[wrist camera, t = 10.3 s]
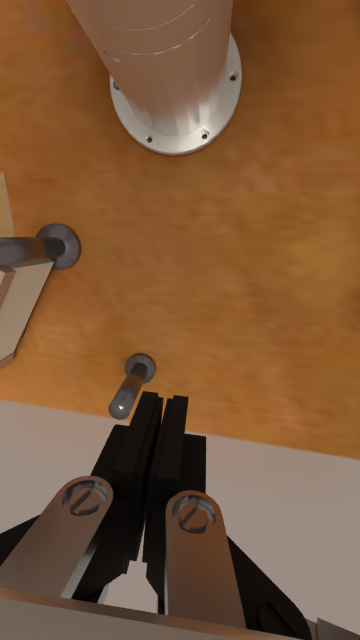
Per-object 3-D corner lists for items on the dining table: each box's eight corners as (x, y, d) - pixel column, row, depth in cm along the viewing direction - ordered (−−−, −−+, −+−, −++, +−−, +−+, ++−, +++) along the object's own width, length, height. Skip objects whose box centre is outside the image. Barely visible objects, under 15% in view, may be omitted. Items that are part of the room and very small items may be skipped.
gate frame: (-37, 288, 39) (-142, 310, 27) (63, 215, 35) (-8, 204, 24) (66, 424, 42) (13, 495, 31) (166, 369, 39) (147, 425, 27)
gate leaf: (41, 254, 35) (-17, 260, 26) (57, 263, 35) (5, 273, 26) (-3, 356, 39) (-67, 392, 30) (11, 364, 39) (-48, 402, 30)
